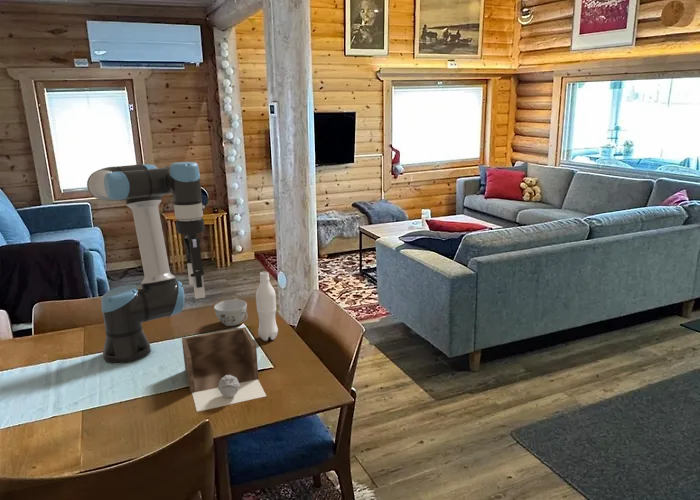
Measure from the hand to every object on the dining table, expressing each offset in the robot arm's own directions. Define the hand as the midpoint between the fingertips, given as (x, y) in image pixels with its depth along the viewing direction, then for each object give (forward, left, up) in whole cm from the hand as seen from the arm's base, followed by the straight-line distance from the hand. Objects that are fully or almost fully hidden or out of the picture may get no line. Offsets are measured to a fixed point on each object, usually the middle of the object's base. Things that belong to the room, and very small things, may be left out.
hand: (196, 290), depth 153 cm
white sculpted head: (+5, -12, -29) cm, 32 cm away
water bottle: (+26, +27, -31) cm, 49 cm away
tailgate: (+5, -5, -29) cm, 30 cm away
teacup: (+17, +46, -31) cm, 58 cm away
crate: (+5, +3, -31) cm, 31 cm away
